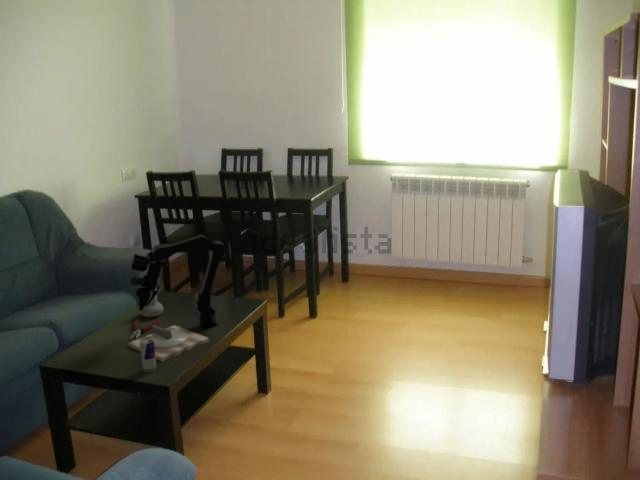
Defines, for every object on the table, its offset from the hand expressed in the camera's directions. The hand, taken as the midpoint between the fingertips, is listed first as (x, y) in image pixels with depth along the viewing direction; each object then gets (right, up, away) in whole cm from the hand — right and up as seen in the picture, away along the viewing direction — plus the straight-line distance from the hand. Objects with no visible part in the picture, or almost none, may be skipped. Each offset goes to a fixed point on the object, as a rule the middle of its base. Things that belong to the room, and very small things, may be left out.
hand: (143, 307), depth 279 cm
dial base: (+12, -15, -5) cm, 20 cm away
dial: (+11, -13, -4) cm, 18 cm away
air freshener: (-3, -7, +28) cm, 29 cm away
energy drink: (+10, -21, -27) cm, 36 cm away
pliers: (-5, -12, +12) cm, 17 cm away
